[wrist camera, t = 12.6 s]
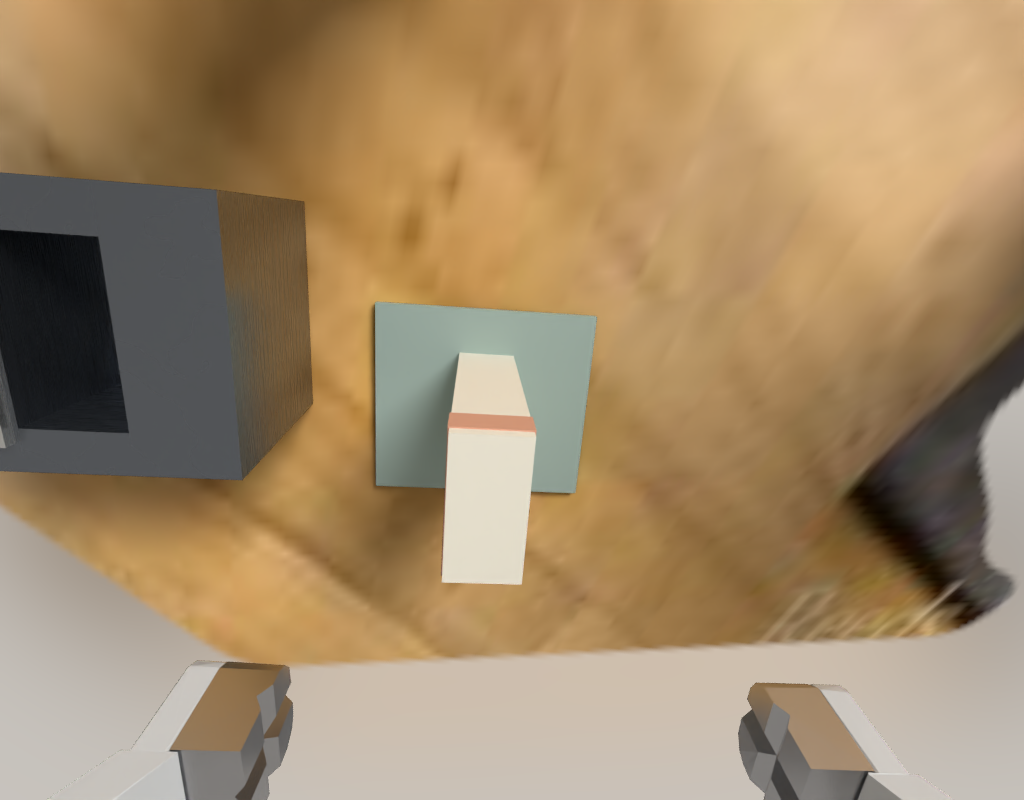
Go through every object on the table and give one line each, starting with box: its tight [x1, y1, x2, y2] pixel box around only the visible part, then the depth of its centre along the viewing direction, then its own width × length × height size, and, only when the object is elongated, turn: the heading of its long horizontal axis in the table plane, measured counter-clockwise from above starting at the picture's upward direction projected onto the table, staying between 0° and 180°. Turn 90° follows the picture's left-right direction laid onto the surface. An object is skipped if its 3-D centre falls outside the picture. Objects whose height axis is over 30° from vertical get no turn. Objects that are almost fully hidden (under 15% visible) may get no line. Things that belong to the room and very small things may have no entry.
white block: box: [441, 353, 537, 584], centre depth 21 cm, size 3×5×10 cm, turn 176°
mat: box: [375, 302, 597, 493], centre depth 26 cm, size 10×9×1 cm
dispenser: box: [0, 173, 313, 480], centre depth 19 cm, size 10×9×8 cm
